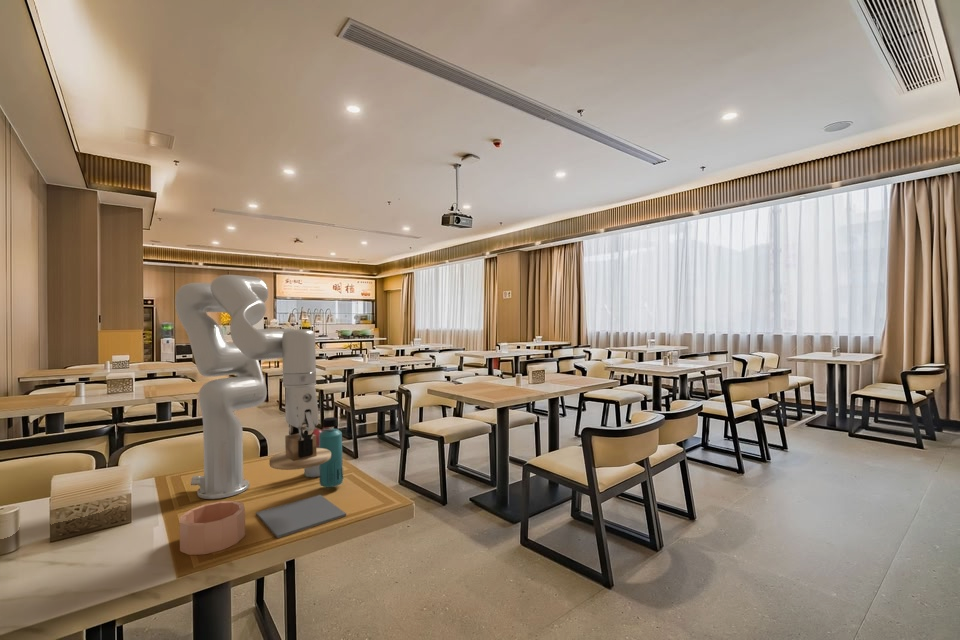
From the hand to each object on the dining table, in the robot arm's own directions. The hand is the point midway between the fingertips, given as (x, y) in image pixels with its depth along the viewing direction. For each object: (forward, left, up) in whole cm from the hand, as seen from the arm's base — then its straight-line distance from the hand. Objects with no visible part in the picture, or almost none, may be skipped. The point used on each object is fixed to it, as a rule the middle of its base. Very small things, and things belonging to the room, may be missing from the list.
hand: (301, 452), depth 108 cm
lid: (0, 0, -2) cm, 2 cm away
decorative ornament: (-6, +29, -16) cm, 34 cm away
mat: (0, 0, -15) cm, 15 cm away
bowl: (-15, -11, -15) cm, 24 cm away
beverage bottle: (+2, +17, -16) cm, 23 cm away
